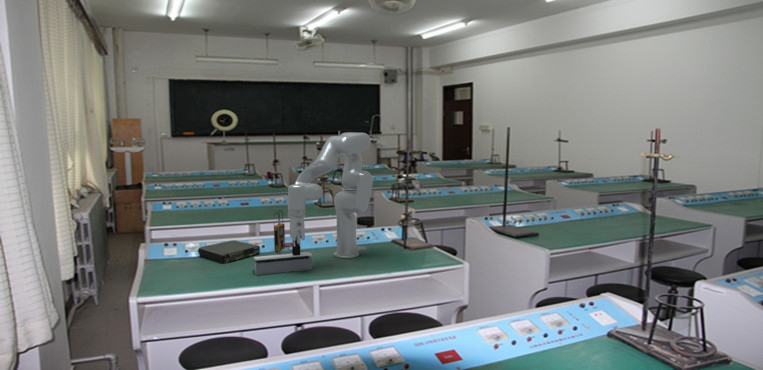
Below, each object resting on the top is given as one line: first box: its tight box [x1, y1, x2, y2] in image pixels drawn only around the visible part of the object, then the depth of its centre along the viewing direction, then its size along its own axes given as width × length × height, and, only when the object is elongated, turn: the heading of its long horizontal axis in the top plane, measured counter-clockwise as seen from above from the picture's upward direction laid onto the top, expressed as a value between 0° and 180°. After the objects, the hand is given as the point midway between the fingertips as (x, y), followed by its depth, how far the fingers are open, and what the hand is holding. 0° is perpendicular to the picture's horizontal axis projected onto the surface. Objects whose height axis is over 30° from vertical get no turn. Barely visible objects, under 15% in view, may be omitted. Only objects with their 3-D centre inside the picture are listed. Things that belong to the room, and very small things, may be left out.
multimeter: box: [273, 210, 292, 254], centre depth 243 cm, size 15×10×20 cm
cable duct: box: [253, 255, 313, 276], centre depth 210 cm, size 24×7×5 cm, turn 111°
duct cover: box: [253, 251, 313, 260], centre depth 210 cm, size 24×9×1 cm, turn 111°
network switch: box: [198, 239, 261, 264], centre depth 233 cm, size 23×24×5 cm
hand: (296, 254), depth 208 cm, fingers closed
